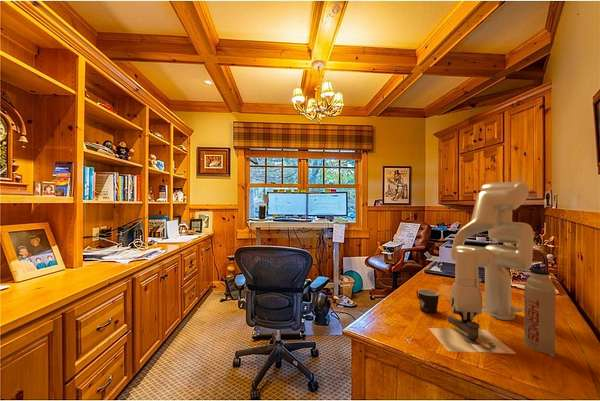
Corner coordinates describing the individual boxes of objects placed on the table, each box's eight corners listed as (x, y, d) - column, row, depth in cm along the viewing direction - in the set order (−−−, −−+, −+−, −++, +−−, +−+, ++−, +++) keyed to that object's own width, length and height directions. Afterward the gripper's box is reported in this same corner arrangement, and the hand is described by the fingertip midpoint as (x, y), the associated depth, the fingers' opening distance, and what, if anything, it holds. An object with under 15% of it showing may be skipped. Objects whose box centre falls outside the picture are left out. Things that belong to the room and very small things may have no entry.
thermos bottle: (539, 358, 88) (540, 273, 88) (518, 344, 96) (518, 267, 96) (561, 356, 89) (562, 273, 89) (538, 343, 97) (538, 267, 96)
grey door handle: (494, 348, 90) (494, 332, 90) (484, 349, 89) (484, 333, 89) (454, 324, 107) (454, 310, 107) (445, 325, 106) (446, 311, 106)
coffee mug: (441, 319, 116) (441, 296, 116) (420, 317, 118) (420, 295, 118) (433, 308, 128) (434, 287, 128) (414, 306, 130) (414, 286, 129)
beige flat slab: (486, 333, 104) (486, 328, 104) (516, 358, 88) (516, 351, 88) (428, 331, 105) (428, 326, 105) (448, 355, 90) (448, 349, 90)
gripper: (480, 278, 106) (480, 324, 106) (442, 278, 106) (441, 323, 107) (493, 284, 98) (493, 333, 98) (451, 284, 99) (451, 333, 99)
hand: (466, 328), depth 103 cm, fingers closed
